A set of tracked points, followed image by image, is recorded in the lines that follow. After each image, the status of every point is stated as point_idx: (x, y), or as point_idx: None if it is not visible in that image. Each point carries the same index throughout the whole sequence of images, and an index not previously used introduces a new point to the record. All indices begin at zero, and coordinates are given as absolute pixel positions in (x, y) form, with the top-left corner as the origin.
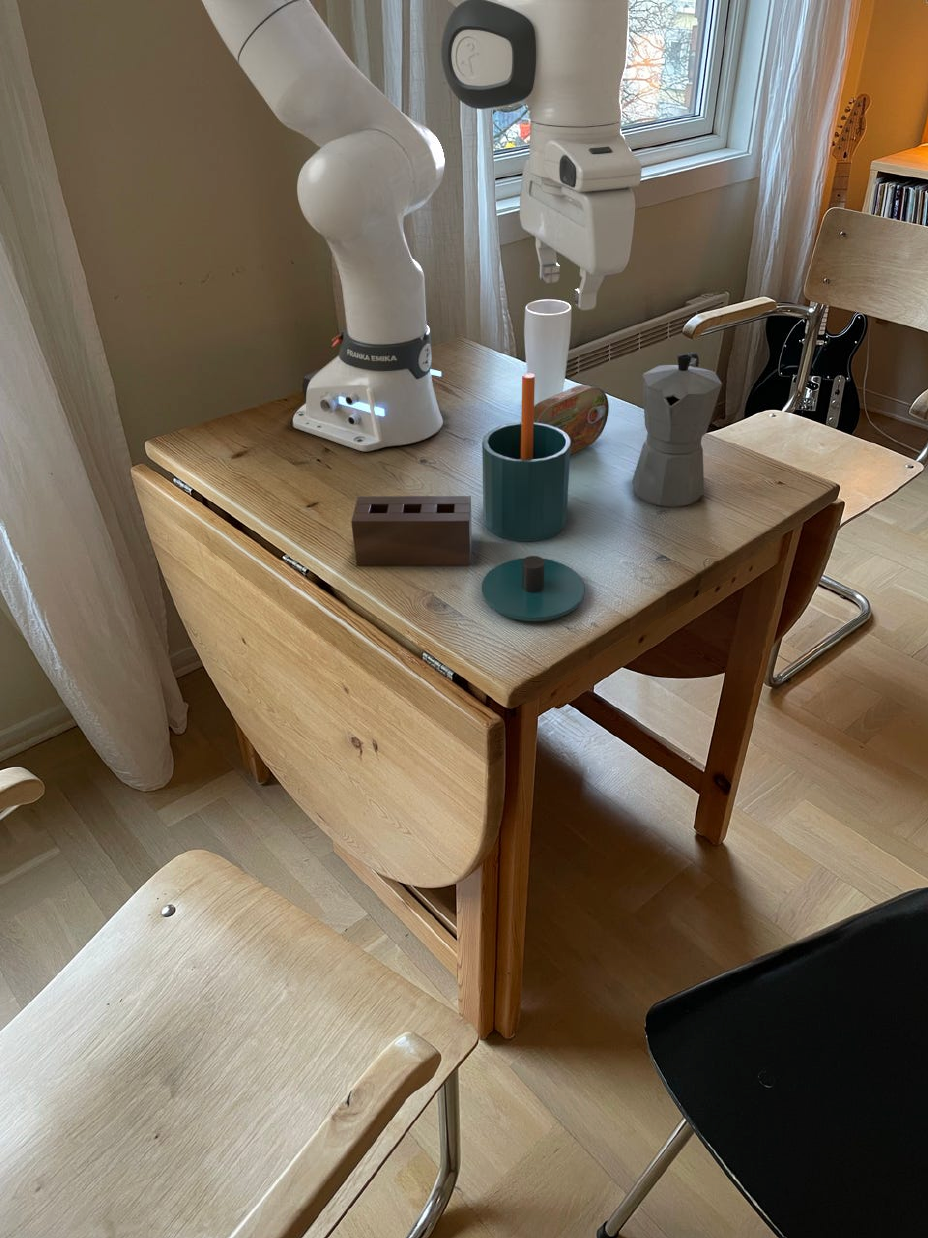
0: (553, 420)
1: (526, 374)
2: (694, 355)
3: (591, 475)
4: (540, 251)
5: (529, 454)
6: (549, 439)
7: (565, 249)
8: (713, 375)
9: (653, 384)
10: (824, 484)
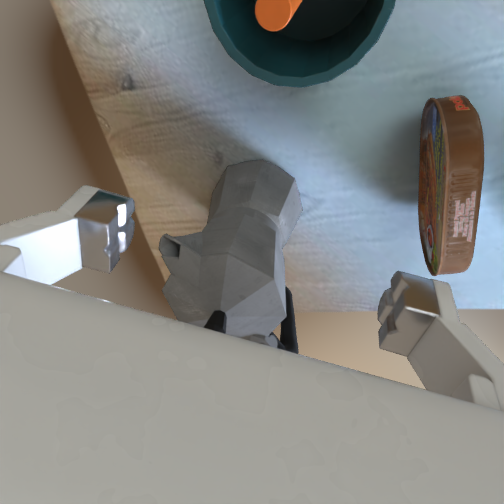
0: (442, 165)
1: (284, 11)
2: None
3: (350, 151)
4: (473, 365)
5: None
6: (318, 66)
7: (52, 317)
8: None
9: (224, 262)
10: None
